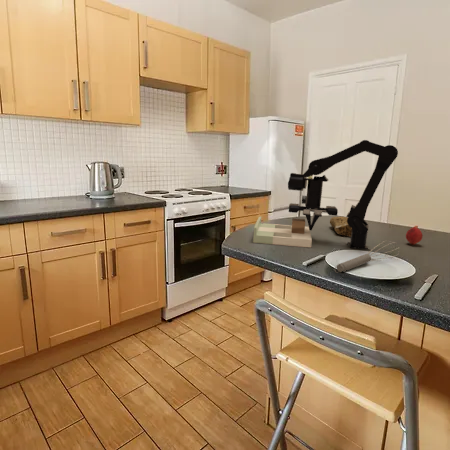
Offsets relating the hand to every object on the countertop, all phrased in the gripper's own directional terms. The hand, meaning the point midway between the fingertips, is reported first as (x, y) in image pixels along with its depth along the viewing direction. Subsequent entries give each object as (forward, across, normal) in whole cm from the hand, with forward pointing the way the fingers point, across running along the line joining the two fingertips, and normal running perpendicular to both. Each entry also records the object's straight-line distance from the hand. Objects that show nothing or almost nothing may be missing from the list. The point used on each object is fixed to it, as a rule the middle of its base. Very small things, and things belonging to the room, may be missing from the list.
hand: (310, 230), depth 136 cm
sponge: (+4, -16, -20) cm, 26 cm away
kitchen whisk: (+4, -18, +24) cm, 30 cm away
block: (+1, +5, 0) cm, 5 cm away
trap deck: (+4, +11, 0) cm, 12 cm away
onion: (+4, -41, -6) cm, 42 cm away
